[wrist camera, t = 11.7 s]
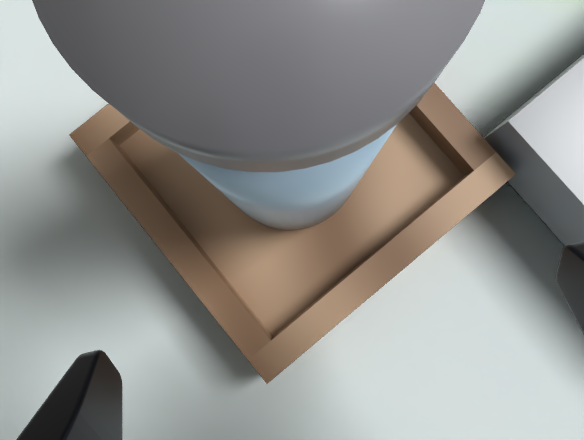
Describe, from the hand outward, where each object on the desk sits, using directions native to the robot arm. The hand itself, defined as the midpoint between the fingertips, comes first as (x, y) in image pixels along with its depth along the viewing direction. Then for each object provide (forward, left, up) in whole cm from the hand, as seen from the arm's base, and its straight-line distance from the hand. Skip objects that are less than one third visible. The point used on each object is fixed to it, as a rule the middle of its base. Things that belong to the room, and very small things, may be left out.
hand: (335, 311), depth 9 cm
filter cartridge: (+2, +4, -8) cm, 9 cm away
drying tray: (+2, +4, -9) cm, 10 cm away
